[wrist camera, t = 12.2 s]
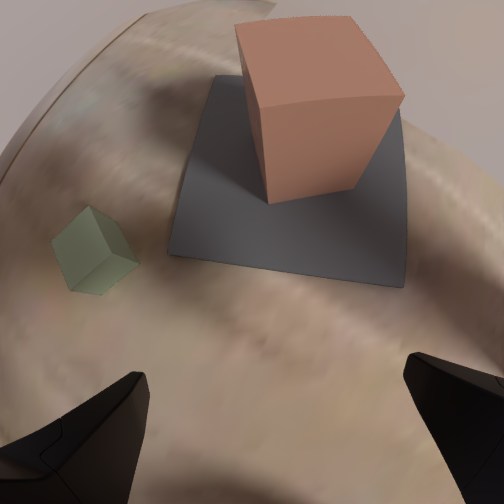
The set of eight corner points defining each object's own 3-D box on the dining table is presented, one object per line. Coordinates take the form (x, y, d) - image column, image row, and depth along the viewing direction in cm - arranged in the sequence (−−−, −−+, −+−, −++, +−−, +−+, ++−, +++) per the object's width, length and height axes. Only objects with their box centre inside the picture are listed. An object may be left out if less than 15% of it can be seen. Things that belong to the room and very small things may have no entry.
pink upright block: (353, 189, 19) (405, 95, 9) (268, 204, 19) (259, 108, 10) (328, 119, 20) (350, 16, 11) (251, 131, 21) (234, 24, 11)
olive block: (140, 264, 20) (112, 253, 16) (102, 295, 20) (69, 290, 16) (117, 222, 21) (88, 205, 17) (82, 253, 21) (50, 242, 17)
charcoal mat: (396, 102, 21) (397, 98, 20) (400, 287, 18) (403, 287, 17) (216, 78, 23) (215, 75, 22) (169, 254, 20) (166, 253, 19)
